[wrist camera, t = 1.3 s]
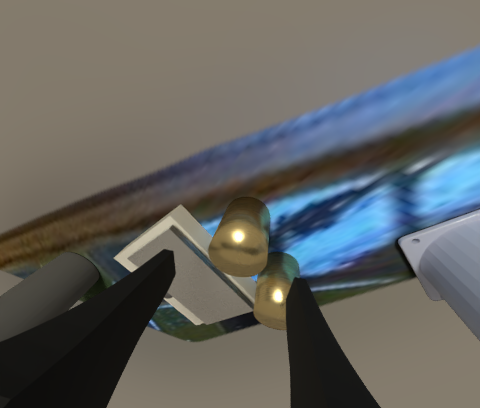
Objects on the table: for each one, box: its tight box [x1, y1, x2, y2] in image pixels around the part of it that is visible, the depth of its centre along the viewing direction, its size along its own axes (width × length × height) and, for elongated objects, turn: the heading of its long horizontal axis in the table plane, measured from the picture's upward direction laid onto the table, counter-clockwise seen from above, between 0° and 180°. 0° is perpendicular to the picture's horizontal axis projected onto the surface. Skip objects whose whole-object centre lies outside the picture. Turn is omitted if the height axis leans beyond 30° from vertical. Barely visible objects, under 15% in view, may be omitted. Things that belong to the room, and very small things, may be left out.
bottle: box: [0, 252, 99, 342], centre depth 19 cm, size 6×6×15 cm
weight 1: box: [208, 197, 270, 277], centre depth 14 cm, size 4×4×5 cm
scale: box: [114, 205, 257, 325], centre depth 20 cm, size 10×13×2 cm
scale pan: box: [127, 225, 254, 325], centre depth 18 cm, size 7×12×1 cm, turn 39°
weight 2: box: [253, 252, 300, 330], centre depth 17 cm, size 4×4×5 cm
